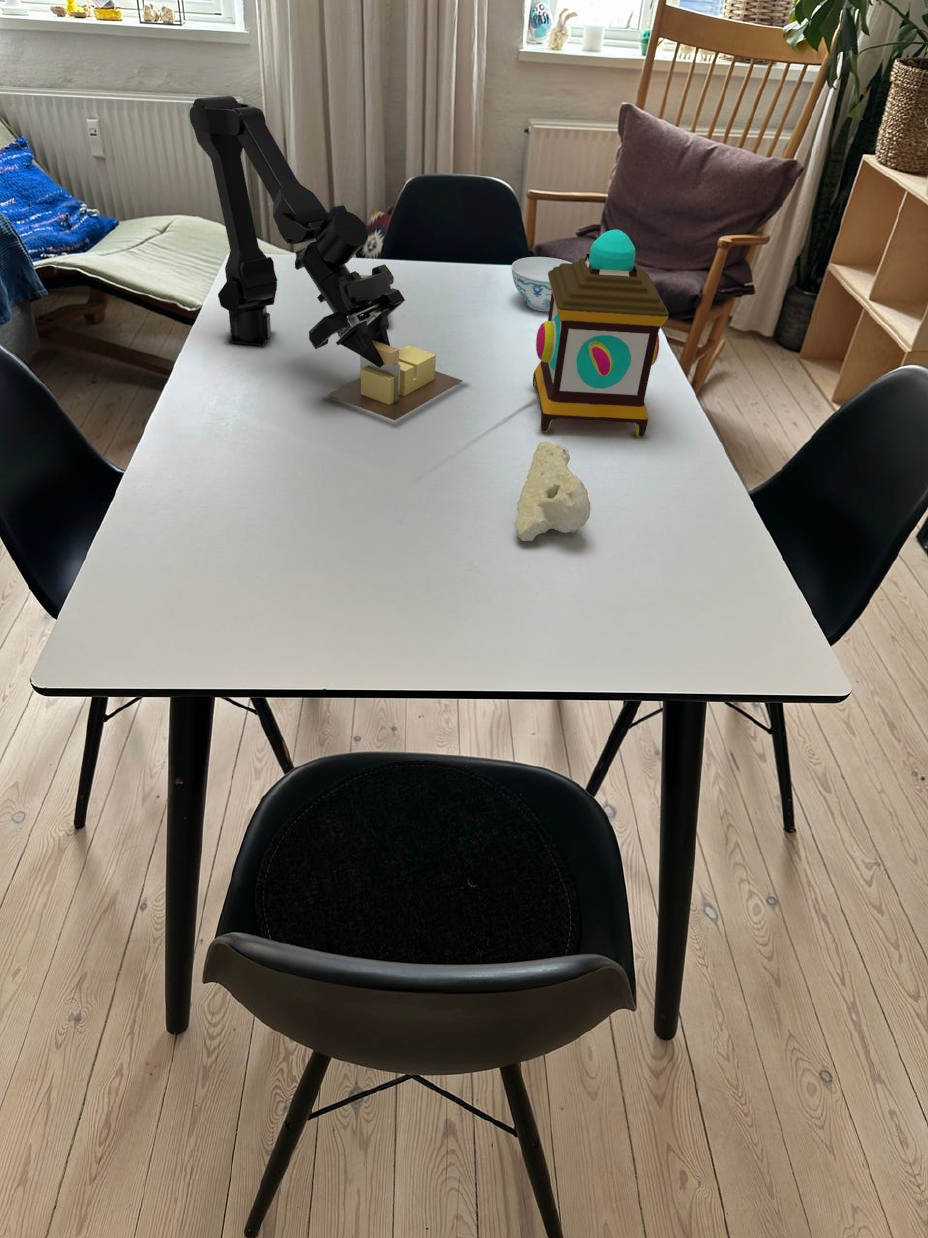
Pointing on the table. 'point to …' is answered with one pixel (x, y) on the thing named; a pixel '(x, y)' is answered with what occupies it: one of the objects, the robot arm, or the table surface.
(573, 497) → the cream rough rock
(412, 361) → the butter block
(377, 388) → the butter slice
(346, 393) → the board
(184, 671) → the table surface
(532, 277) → the chinaware
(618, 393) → the decorative lantern
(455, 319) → the table surface
